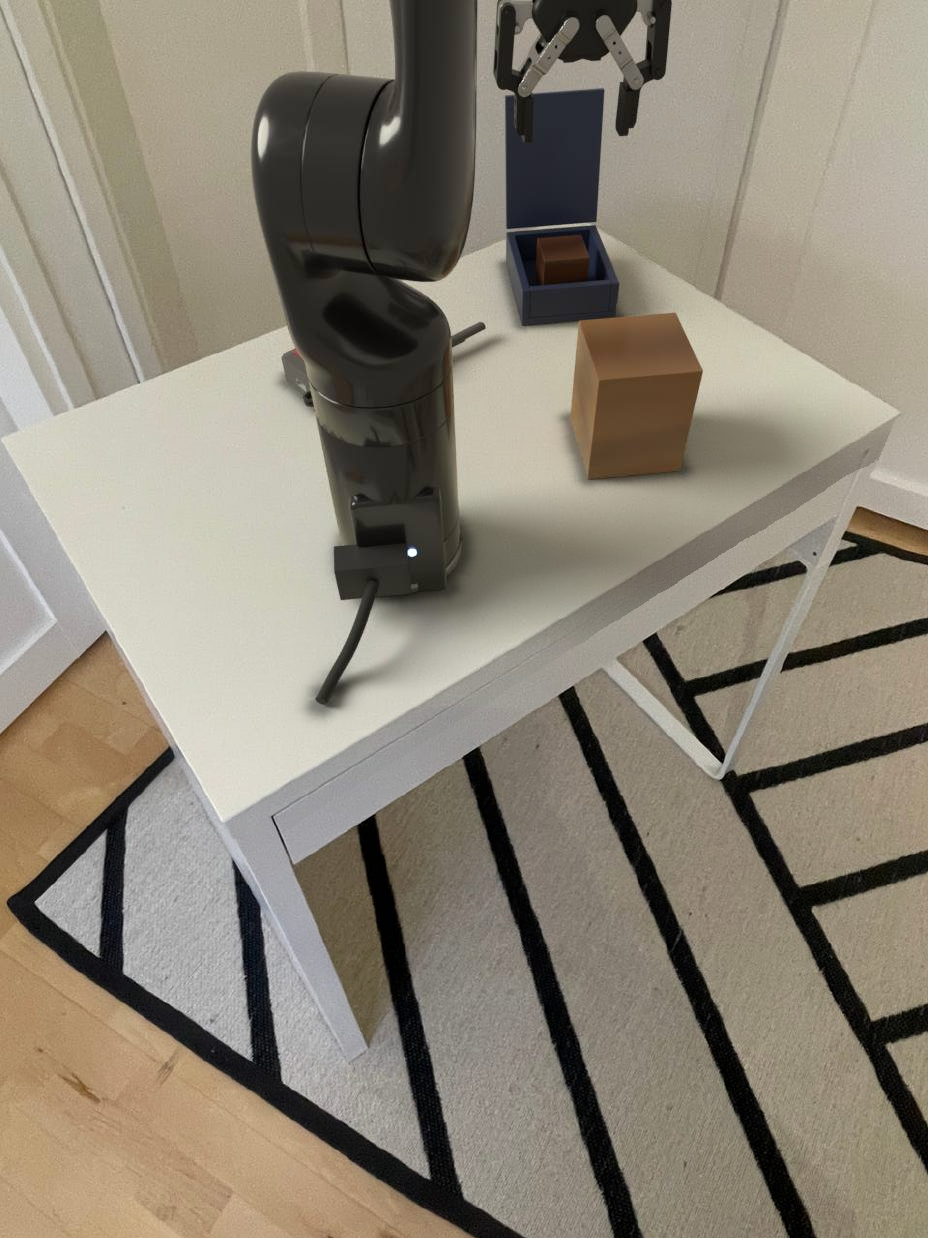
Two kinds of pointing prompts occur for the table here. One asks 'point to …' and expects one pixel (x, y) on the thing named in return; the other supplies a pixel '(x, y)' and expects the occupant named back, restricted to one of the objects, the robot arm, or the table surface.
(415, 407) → the robot arm
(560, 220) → the cover
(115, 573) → the table surface
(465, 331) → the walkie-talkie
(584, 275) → the block
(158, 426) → the table surface
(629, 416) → the stand
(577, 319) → the navy jewelry box
